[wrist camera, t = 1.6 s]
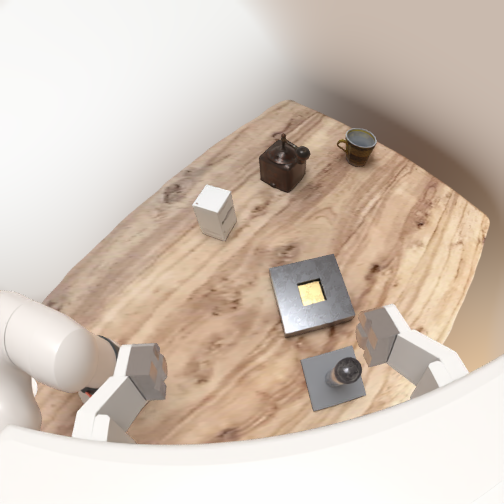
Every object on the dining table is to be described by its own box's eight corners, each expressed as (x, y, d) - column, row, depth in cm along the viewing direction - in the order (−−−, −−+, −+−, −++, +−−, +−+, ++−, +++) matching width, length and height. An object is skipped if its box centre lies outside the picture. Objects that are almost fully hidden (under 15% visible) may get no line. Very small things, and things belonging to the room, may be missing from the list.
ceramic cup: (363, 149, 93) (368, 127, 85) (375, 169, 88) (381, 146, 80) (329, 152, 93) (332, 129, 84) (339, 173, 88) (343, 149, 80)
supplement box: (225, 242, 79) (217, 213, 68) (201, 233, 81) (190, 205, 70) (237, 221, 82) (231, 191, 71) (214, 213, 84) (205, 183, 73)
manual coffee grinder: (258, 180, 89) (253, 134, 73) (278, 160, 93) (277, 115, 77) (301, 203, 83) (305, 156, 68) (320, 180, 87) (326, 134, 72)
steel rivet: (339, 392, 56) (355, 387, 44) (319, 383, 58) (330, 377, 46) (348, 372, 58) (365, 363, 46) (328, 364, 60) (342, 353, 48)
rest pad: (364, 395, 56) (366, 394, 55) (313, 411, 56) (313, 411, 55) (351, 346, 62) (352, 345, 61) (300, 360, 62) (300, 359, 61)
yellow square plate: (324, 302, 66) (324, 300, 65) (303, 307, 66) (303, 305, 65) (317, 282, 69) (318, 281, 68) (297, 287, 68) (297, 286, 68)
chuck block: (351, 320, 65) (355, 315, 62) (285, 337, 65) (285, 333, 61) (331, 261, 73) (333, 253, 70) (269, 275, 73) (269, 268, 69)
